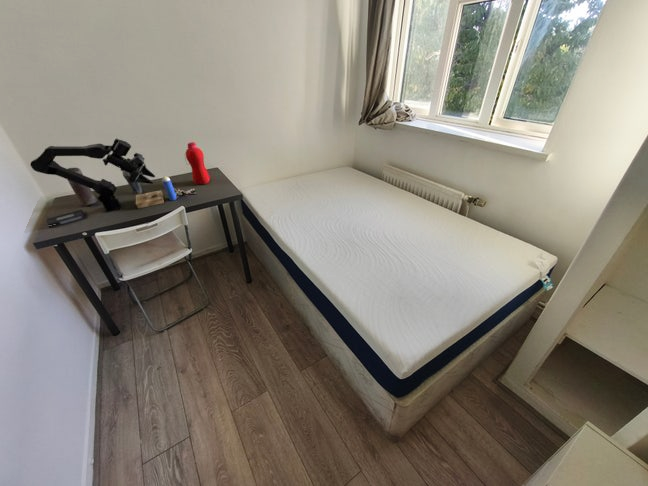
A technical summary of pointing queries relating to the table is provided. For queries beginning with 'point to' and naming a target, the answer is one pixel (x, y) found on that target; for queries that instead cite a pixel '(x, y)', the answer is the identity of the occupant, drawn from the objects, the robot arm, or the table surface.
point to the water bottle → (197, 164)
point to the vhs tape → (65, 218)
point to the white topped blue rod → (169, 188)
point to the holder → (149, 199)
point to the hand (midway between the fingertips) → (153, 179)
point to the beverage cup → (134, 186)
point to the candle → (82, 191)
